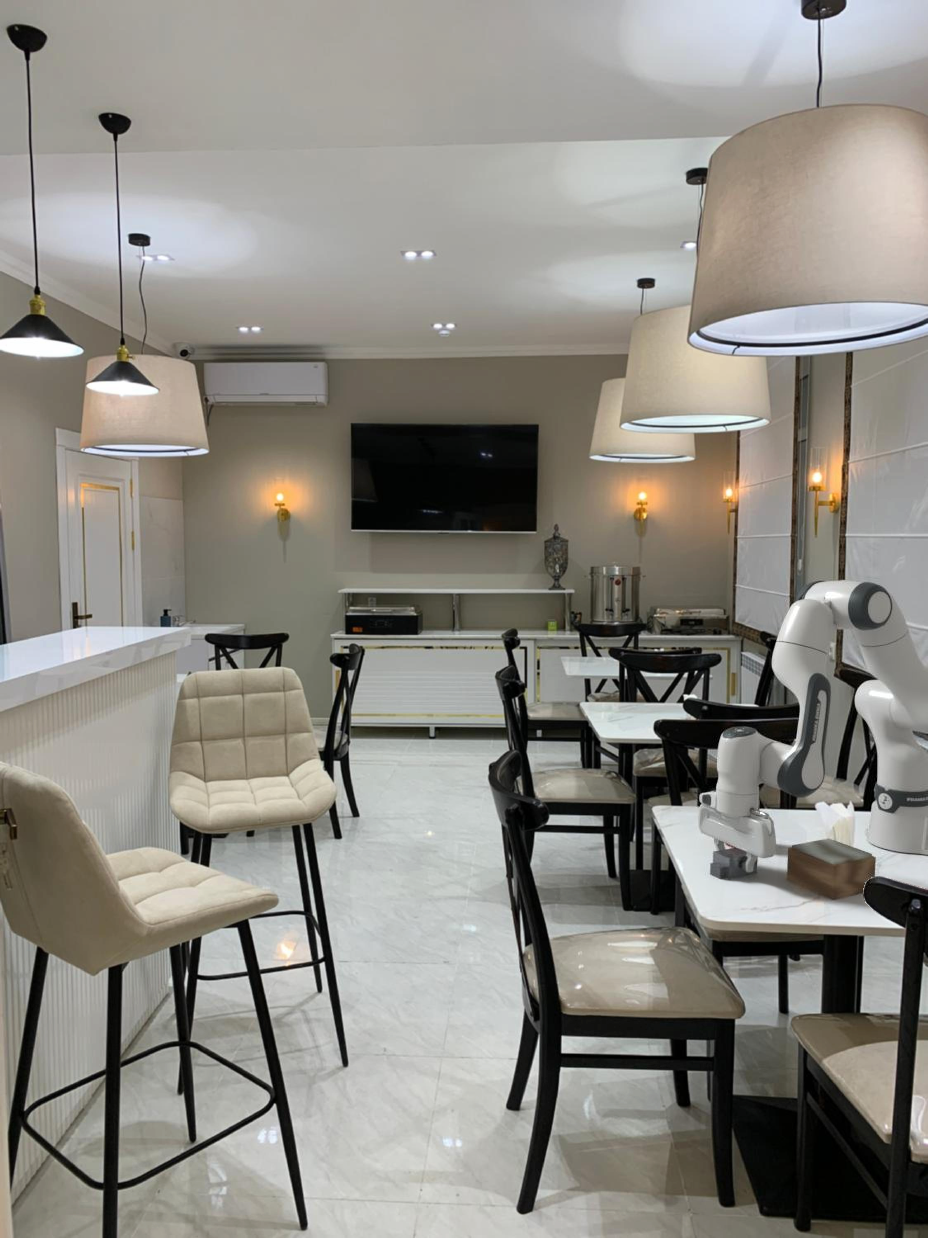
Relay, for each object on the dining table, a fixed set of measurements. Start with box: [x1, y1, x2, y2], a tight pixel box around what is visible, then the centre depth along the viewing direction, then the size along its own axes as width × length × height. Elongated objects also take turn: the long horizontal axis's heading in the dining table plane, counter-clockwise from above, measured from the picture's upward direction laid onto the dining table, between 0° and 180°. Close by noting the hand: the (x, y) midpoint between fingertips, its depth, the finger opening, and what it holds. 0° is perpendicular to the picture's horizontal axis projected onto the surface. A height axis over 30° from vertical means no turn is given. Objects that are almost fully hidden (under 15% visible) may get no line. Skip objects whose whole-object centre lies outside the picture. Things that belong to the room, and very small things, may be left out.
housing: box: [709, 847, 759, 880], centre depth 192 cm, size 10×5×4 cm, turn 116°
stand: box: [786, 838, 877, 901], centre depth 185 cm, size 12×12×8 cm
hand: (735, 865), depth 192 cm, fingers open, 6 cm apart
